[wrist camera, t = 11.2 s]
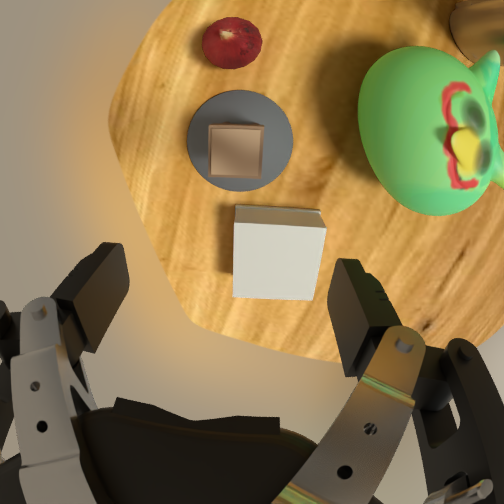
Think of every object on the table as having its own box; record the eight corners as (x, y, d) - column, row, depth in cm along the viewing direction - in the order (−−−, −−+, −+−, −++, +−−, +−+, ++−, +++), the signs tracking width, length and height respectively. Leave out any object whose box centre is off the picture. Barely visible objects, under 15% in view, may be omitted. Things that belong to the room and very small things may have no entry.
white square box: (235, 204, 34) (232, 220, 30) (319, 209, 34) (328, 226, 30) (234, 275, 39) (231, 298, 35) (308, 279, 39) (313, 301, 35)
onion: (252, 22, 23) (251, -2, 16) (268, 64, 26) (271, 51, 19) (202, 36, 24) (185, 18, 17) (217, 79, 27) (204, 71, 20)
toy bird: (321, 65, 26) (369, 40, 13) (436, 49, 22) (514, 42, 10) (363, 205, 34) (415, 267, 21) (462, 174, 31) (532, 216, 18)
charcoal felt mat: (188, 90, 27) (187, 90, 27) (296, 94, 27) (296, 94, 27) (188, 189, 33) (187, 190, 33) (288, 193, 33) (288, 194, 33)
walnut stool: (219, 120, 29) (208, 125, 22) (262, 122, 29) (264, 126, 22) (218, 161, 31) (207, 177, 25) (260, 163, 31) (261, 179, 25)
